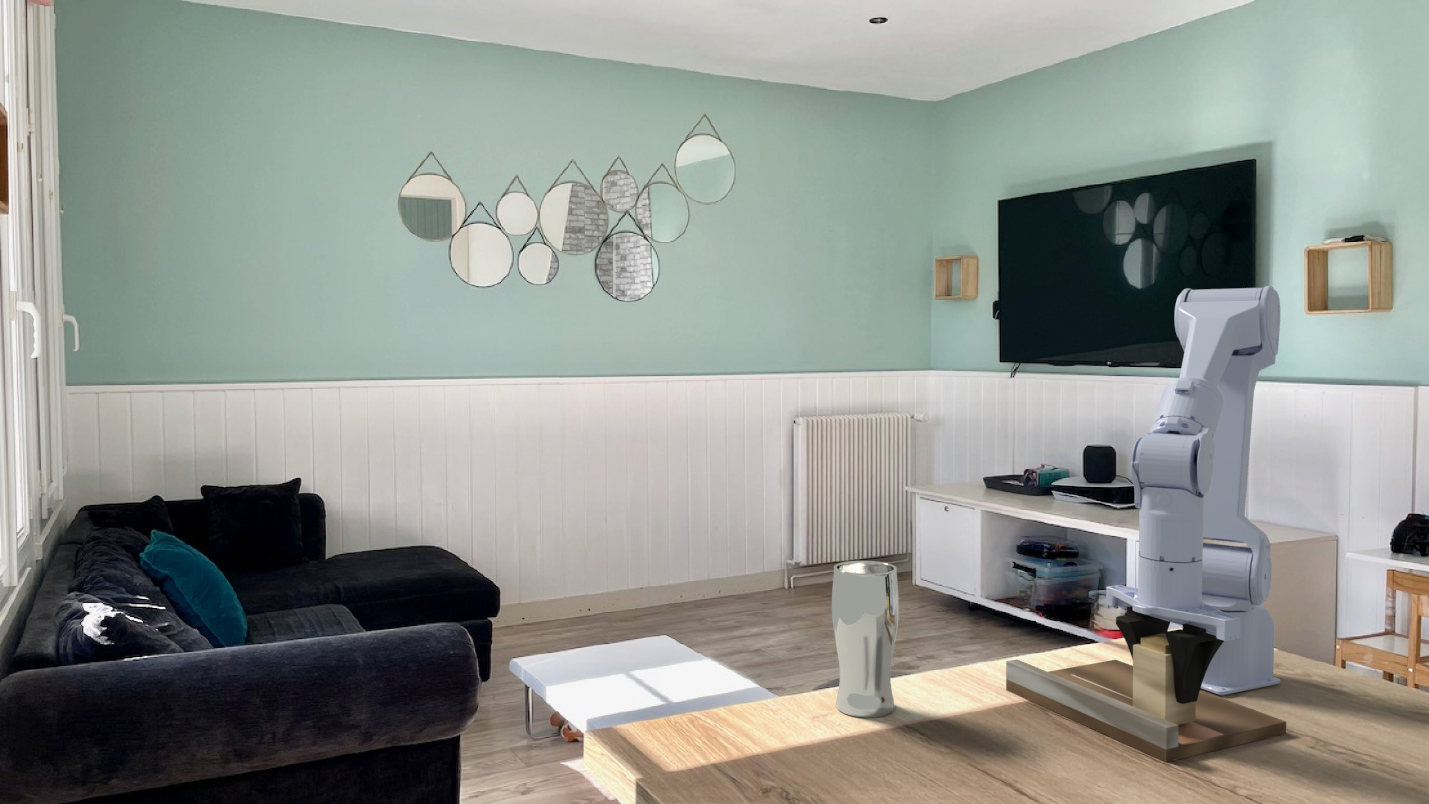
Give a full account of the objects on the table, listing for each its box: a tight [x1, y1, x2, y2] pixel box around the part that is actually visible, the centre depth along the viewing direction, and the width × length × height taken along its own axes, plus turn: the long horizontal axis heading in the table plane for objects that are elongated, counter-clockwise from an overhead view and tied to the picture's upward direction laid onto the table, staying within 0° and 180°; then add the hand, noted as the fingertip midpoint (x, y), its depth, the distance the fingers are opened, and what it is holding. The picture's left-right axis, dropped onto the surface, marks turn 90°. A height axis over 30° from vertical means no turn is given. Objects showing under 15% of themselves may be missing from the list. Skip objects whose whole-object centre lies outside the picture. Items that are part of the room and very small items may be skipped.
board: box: [1005, 659, 1287, 763], centre depth 110 cm, size 16×22×3 cm
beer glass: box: [831, 560, 900, 719], centre depth 111 cm, size 7×7×15 cm
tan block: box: [1132, 633, 1196, 725], centre depth 103 cm, size 4×4×8 cm
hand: (1167, 694), depth 104 cm, fingers closed on tan block, 4 cm apart
